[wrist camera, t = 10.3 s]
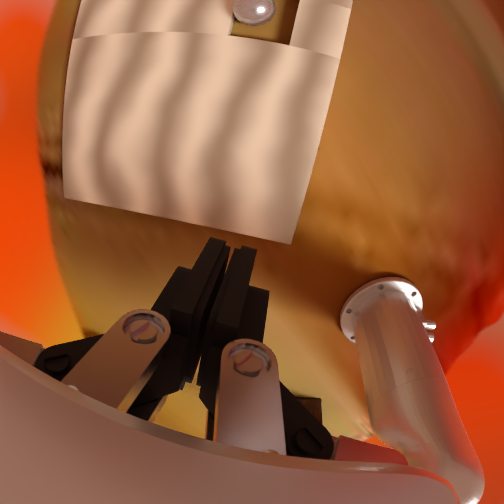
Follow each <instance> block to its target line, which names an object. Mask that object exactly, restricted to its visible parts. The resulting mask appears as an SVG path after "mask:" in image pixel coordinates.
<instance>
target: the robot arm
mask: <svg viewBox="0 0 504 504" xmlns="http://www.w3.org/2000/svg"><path fill="white" fill-rule="evenodd" d="M225 244H226V241H223V240H219V239H215V238H212V237H210V239H209V240H208V242H207V244H206V246H205V247H204V249H203V251H202V252H201V254H200V256H199V258H198V259H197V261H196V263H195V265H194V266H193V268H192V270H191V269H188V268H184V267H181V266H179V267H178V268H177V269H176V270H175V272H174V273H173V275H172V277H171V278H170V280H169V281H168V283H167V284H166V286H165V288H164V289H163V291H162V292H161V294H160V296H159V297H158V299H157V300H156V302H155V304H154V305H153V307H152V308H151V310H147V309H138V310H133V311H130V312H127V313H126V314H125V315H123V316H122V317H121V318H120V319H119V320H118V321H117V322H116V323H115V324H114V325H113V326H112V327H111V328H110V329H109V330H108V331H107V332H106V333H105V334H102V335H98V336H94V337H89V338H85V339H81V340H77V341H72V342H67V343H63V344H58V345H54V346H51V347H48V348H46V349H44V348H43V346H42V345H41V344H38V343H34V342H32V341H28V340H25V339H22V338H19V337H16V336H13V335H9V334H7V333H4V332H1V331H0V504H477V503H478V502H479V500H480V498H481V496H482V494H483V490H484V475H483V471H482V467H481V465H480V462H479V459H478V457H477V455H476V453H475V451H474V448H473V446H472V444H471V442H470V440H469V438H468V436H467V433H466V431H465V429H464V426H463V424H462V422H461V419H460V417H459V414H458V411H457V408H456V406H455V403H454V400H453V398H452V395H451V392H450V389H449V387H448V384H447V381H446V378H445V376H444V373H443V370H442V368H441V365H440V363H439V360H438V358H437V355H436V353H435V351H434V348H433V346H432V342H433V340H434V333H433V332H431V331H426V330H425V328H426V329H432V330H433V329H434V328H435V326H436V322H435V321H434V320H425V319H424V316H423V314H422V307H423V301H422V296H421V294H420V292H419V290H418V289H417V287H416V286H415V285H414V284H413V283H412V282H410V281H408V280H406V279H404V278H399V277H385V278H379V279H376V280H373V281H371V282H369V283H366V284H364V285H363V286H361V287H360V288H358V289H357V290H356V291H355V292H354V293H352V294H351V295H350V297H349V298H348V299H347V300H346V302H345V304H344V305H343V307H342V310H341V313H340V324H341V328H342V331H343V333H344V335H345V336H346V337H347V338H348V339H349V340H350V341H352V342H354V343H356V347H357V351H358V356H359V361H360V366H361V372H362V377H363V382H364V388H365V394H366V399H367V405H368V412H369V419H370V424H371V428H372V430H373V432H374V434H375V435H376V437H377V438H378V439H379V440H380V441H382V442H383V443H385V444H386V445H388V446H389V447H391V448H393V449H390V448H386V447H382V446H378V445H374V444H370V443H366V442H363V441H359V440H355V439H352V438H348V437H345V436H342V435H340V436H339V437H338V438H337V437H334V436H331V434H330V433H329V432H328V430H327V429H326V428H325V427H324V426H323V425H322V424H321V423H320V422H319V421H318V420H317V419H316V418H315V417H314V416H313V415H312V414H311V413H310V412H309V411H308V410H307V409H306V408H305V407H304V406H303V405H302V404H301V403H300V402H299V401H298V400H297V399H296V397H295V396H294V395H293V394H292V393H291V392H290V391H289V390H288V389H287V388H286V387H285V386H284V385H283V384H282V383H281V382H280V381H279V373H278V363H277V359H276V356H275V355H274V353H273V352H272V350H271V349H270V348H268V347H267V346H266V345H265V344H263V336H264V329H265V321H266V314H267V307H268V300H269V291H268V290H264V289H261V288H257V287H253V286H249V281H250V277H251V273H252V269H253V265H254V261H255V256H256V252H257V250H256V249H253V248H249V247H245V246H242V247H241V249H237V248H235V249H234V252H233V255H232V257H231V260H230V262H229V265H228V268H227V270H226V266H227V261H228V257H229V252H230V247H229V246H226V245H225ZM225 270H226V273H225ZM224 275H225V276H224ZM201 354H202V355H201ZM200 357H201V360H200ZM199 360H200V366H199V372H198V378H197V384H196V385H198V386H201V388H200V394H199V398H200V399H201V401H202V402H203V404H204V405H205V406H206V408H207V409H208V410H207V416H206V428H205V439H202V438H198V437H195V436H191V435H188V434H184V433H181V432H178V431H175V430H172V429H168V428H165V427H162V426H160V425H157V424H154V423H153V421H154V419H155V418H156V416H157V415H158V413H159V411H160V410H161V408H162V406H163V405H164V403H165V402H166V399H167V396H168V394H171V393H174V392H177V391H179V389H180V390H183V387H184V385H185V382H188V383H192V380H193V378H194V375H195V372H196V369H197V366H198V363H199ZM394 449H395V450H394Z"/></svg>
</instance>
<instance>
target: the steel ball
mask: <svg viewBox="0 0 504 504" xmlns="http://www.w3.org/2000/svg"><path fill="white" fill-rule="evenodd" d="M275 11H276V7H275V3H274V1H273V0H235V2H234V5H233V12H234V15H235V17H236V18H237V19H238V20H239V21H240V22H241V23H243V24H245V25H248V26H261V25H264V24H266V23H268V22H269V21H270V20H271V19H272V18H273V16H274V14H275Z"/></svg>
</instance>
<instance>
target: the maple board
mask: <svg viewBox="0 0 504 504" xmlns="http://www.w3.org/2000/svg"><path fill="white" fill-rule="evenodd" d="M234 2H235V0H82V1H81V5H80V8H79V12H78V16H77V21H76V25H75V30H74V35H73V40H72V45H71V51H70V57H69V63H68V71H67V79H66V88H65V98H64V112H63V136H62V165H63V189H64V198H67V199H73V200H78V201H83V202H88V203H93V204H99V205H104V206H109V207H114V208H119V209H124V210H129V211H134V212H139V213H144V214H149V215H154V216H159V217H163V218H168V219H173V220H178V221H183V222H188V223H192V224H197V225H202V226H207V227H211V228H216V229H221V230H225V231H230V232H235V233H239V234H244V235H249V236H253V237H258V238H262V239H267V240H271V241H276V242H280V243H285V244H289V245H291V242H292V239H293V236H294V232H295V229H296V225H297V222H298V218H299V215H300V212H301V208H302V205H303V201H304V198H305V194H306V190H307V187H308V183H309V180H310V176H311V172H312V169H313V165H314V161H315V158H316V154H317V150H318V146H319V143H320V139H321V135H322V131H323V127H324V123H325V119H326V115H327V111H328V108H329V103H330V99H331V95H332V91H333V87H334V83H335V79H336V75H337V70H338V66H339V62H340V57H341V53H342V49H343V44H344V40H345V35H346V31H347V26H348V21H349V16H350V12H351V7H352V2H353V0H300V2H299V6H298V10H297V14H296V19H295V23H294V27H293V32H292V36H291V40H290V45H285V44H280V43H275V42H269V41H264V40H258V39H251V38H244V37H237V36H231V32H232V28H233V23H234V19H235V15H234V12H233V5H234Z"/></svg>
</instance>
